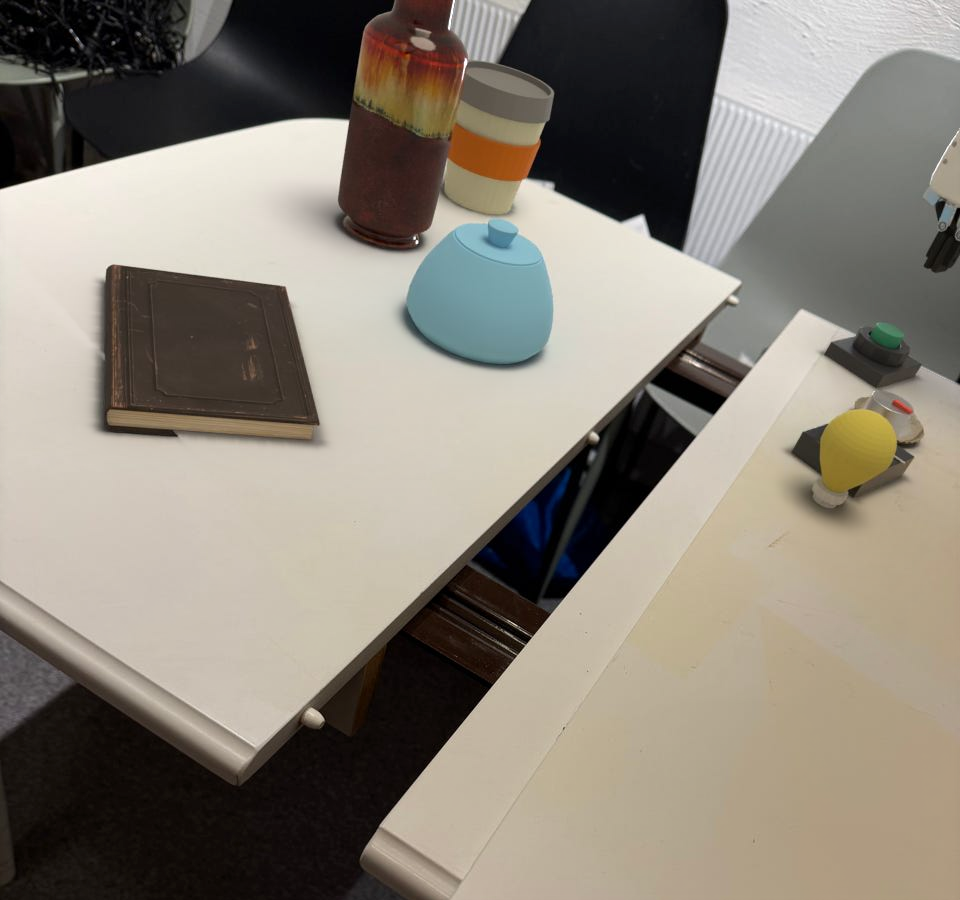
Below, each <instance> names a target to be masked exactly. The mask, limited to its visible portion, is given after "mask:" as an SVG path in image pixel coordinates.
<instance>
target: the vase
mask: <svg viewBox="0 0 960 900" xmlns="http://www.w3.org/2000/svg"><path fill="white" fill-rule="evenodd" d="M456 1H457V0H394V3H393V7H392V9H391V11H386V12H384V13H380V14H377V15H376V16H375V17H373V18H372V19H371V20H370V21H369V22H368V23H367V24H366V25H365V27H364V30H363V32H362V39H361V45H360V50H359V51H360V52H359V55H358V56H359V57H358V62H357V68H356V74H355V75H356V76H355V81H354V87H353V95H352V101H351V106H350V113H349V119H348V125H347V126H348V127H347V133H346V140H345V145H344V153H343V158H342V166H341V173H340V177H339V187H338V194H337V195H338V196H337V204H338V206H339V208H340V210H341V211H343V213H344V214H345V215H346V216H345V217H344V218H343V220H342V226H343V228H344V229H345V231H346V232H347V233H349V235H351V236H352V237H354V238H356V239H357V240H359V241H361V242H364V243H366V244H368V245H371V246H374V247H379V248H382V249H387V250H396V251H401V250H404V251H405V250H410V249H414V248H416V247H417V246H419V243H420V237H419V235H420V234H421V233H422V234H423V233H424V232H426V231H428V230H429V229H430V228H431V226H432V225H433V222H434V217H435V213H436V210H437V207H438V206H437V205H438V201H439V196H440V192H441V188H442V183H443V179H444V175H445V172H446V167H447V158H448V153H449V149H450V144H451V140H452V135H453V131H454V126H455V122H456V117H457V113H458V108H459V104H460V100H461V95H462V91H463V86H464V81H465V76H466V71H467V66H468V60H469V54H468V52H467V49H466V46H465V44H464V42H463V41H462V39H461V38H460V37H459V36H458V34H457V33H455V31H454V30H453V29H452V20H453V17H454V10H455V5H456Z"/></svg>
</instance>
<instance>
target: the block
mask: <svg viewBox="0 0 960 900" xmlns="http://www.w3.org/2000/svg"><path fill="white" fill-rule="evenodd" d="M874 328H875V326H870V325H869V326H868V325H865V326H860V327H859V328H858V330H857V332H856V334H855V336H851V337H847V338H841V339H837V340H833V341H831V342H830V343H829V345H828V346H827V348H826V350H825V352H824V354H823V355H824V356H825V357H827V358H829V359H830V360H831V361H833V362H834V363H836V364H838V365H839V366H841V367H843V368H844V369H845V370H847V371H848V372H850V373H851V374H853V375H855V376H856V377H857V378H859V379H861V380H862V381H864V382H866V383H867V384H869V385H870V386H872V387H873V388H874V389H880V388H882V387H885V386H889V385H892V384H895V383H898V382H902V381H905V380H909V379H911V378H915V377H916V375H917V374H918V372H919V370H920V368H921V367H922V365H923V364H922V363H921V362H919V361H917V360H916V359H915V358H912V357H911V356H909V354H910V352H911V349H910V348H911V347H910V346H909V345H908V344H907V343H906V342H905V341H904V340H903V339H902V341H901V343H900V344H899V346H898V348H897V349H893V348H888V347H886V346H883V345H881V344H879V343H877V342H876V341H874V340H873V339H872V338H871V337H870V335H871V333H872V331H873V330H874Z"/></svg>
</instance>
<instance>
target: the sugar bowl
mask: <svg viewBox="0 0 960 900" xmlns="http://www.w3.org/2000/svg"><path fill="white" fill-rule="evenodd" d="M519 230H520V229H519V227H517V225H515V224H514V223H513V222H511V221H509V220H507V219H503V218H490V219H488V220H487V223H482V222H481V223H480V222H469V223H464V224H461V225H459V226H457V227H455V228H454V229H453V230H451V231H449V233H448V234H446V235H445V236H444V237H443V238H442V239H441V240H440V241H439V242H438V243H437V244H436V245H435V246H434V247H433V248H431V250H430V252H429V253H427V255H426V256H425V257H424V258H423V260H422V262H421V263H420V265H419V266H418V268H417V269H416V271H415V273H414V275H413V277H412V280H411V282H410V284H409V287H408V291H407V295H406V307H407V311H408V313H409V315H410V317H411V319H412V321H413V323H414V325H415V327H416V328H417V329H418V331H419V332H420V333H421V334H422V335H423V336H424V337H425V338H426V339H427V340H428V341H430V342H431V343H433V344H434V345H436V346H437V347H439V348H441V349H443V350H445V351H446V352H449V353H451V354H453V355H456V356H457V357H461V358H464V359H468V360H471V361H474V362H479V363H484V364H491V365H511V364H516V363H520V362H524V361H526V360H528V359H530V358H531V357H533V356H535V355H536V354H538V353H540V352H541V351H542V350H543V349H544V348H545V346H547V344H548V342H549V339H550V337H551V333H552V329H553V324H554V323H553V322H554V295H553V290H552V284H551V280H550V276H549V272H548V269H547V264H546V262H545V259H544V255H543V254H542V251H540V249H539V247H538V246H537V245H536V244H535V243H534V242H532V240H530V239H528V238H526V237H524V236H523V235H521V234H519Z"/></svg>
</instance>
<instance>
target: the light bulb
mask: <svg viewBox="0 0 960 900" xmlns="http://www.w3.org/2000/svg"><path fill="white" fill-rule="evenodd" d="M828 423H829V424H828V425H827V427H826V428H825V430H824V432H823V434H822V436H821V442H820V464H821V472H822V475H821V476H820V477H818V478H817V479H816V480H815V482H814V484H813V485H812V488H811V490H812V492H813V494H812V499H813V500H814V502H815V503H817V504H818V505H819V506H821V507H823V508H827V509H835V508H836V507H837V506H840V505H842V504H844V502H845V501H846V499H847V497H848V496H849V494H848V491H847V490H849V489H851V488H854V487H856V486H859V485H861V484H864V483H865V482H867V481H868V480H870V479H872V478H873V477H875V476H877V475H878V474H880V473H882V472H883V471H885V470H887V469H888V467H889V466H890V465H891V463H892V461H893V458H894V455H895V452H896V448H897V445H898V443H897V439H896V434H895V432H894V429H893V427H892V425H891V424H890V423H889V421H888V420H887V419H886V418H884V417H883V416H882V415H880V414H878V413H876V412H874V411H870V410H865V409H857V410H855V409H851V410H847V411H845V412H843V413H841V414H839V415H837V416H836V417H834V418H833V419H831V421H830V422H828Z"/></svg>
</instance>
